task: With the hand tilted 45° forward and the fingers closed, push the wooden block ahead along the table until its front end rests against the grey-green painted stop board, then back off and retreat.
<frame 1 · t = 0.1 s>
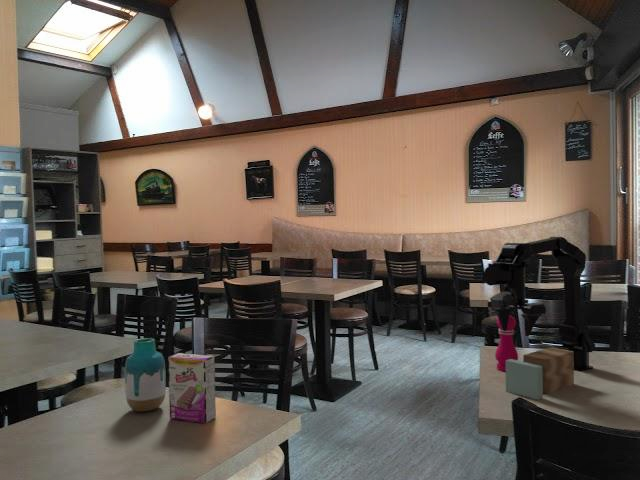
hand: (515, 333, 160), 15 cm above the table, tool pointing down, fingers open, 9 cm apart
wooden block: (549, 386, 154), on the table
candy bar box: (192, 419, 133), on the table
stop: (523, 394, 147), on the table
vase: (146, 410, 141), on the table
pepper mill: (506, 369, 173), on the table
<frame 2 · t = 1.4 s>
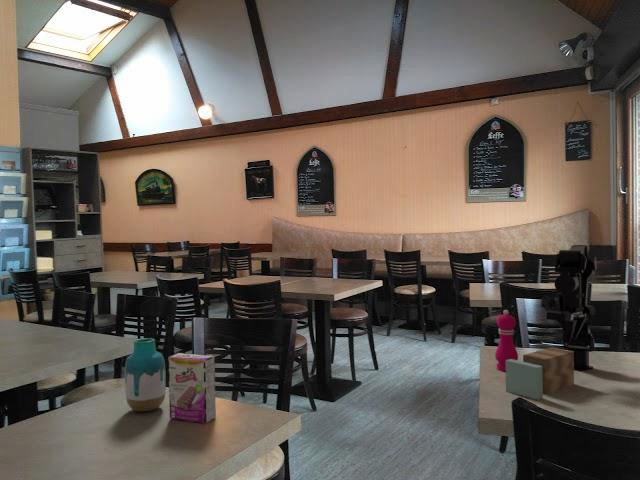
hand: (571, 340, 161), 12 cm above the table, tool pointing down, fingers open, 3 cm apart
nothing on the table moved.
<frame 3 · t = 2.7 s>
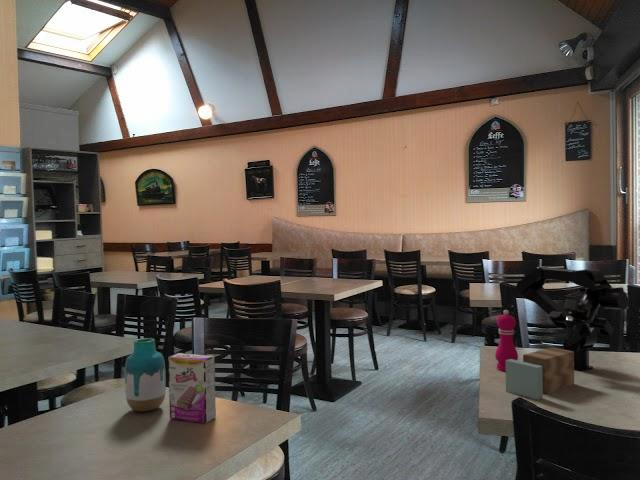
hand: (569, 344, 161), 11 cm above the table, tool tilted 45°, fingers closed
nothing on the table moved.
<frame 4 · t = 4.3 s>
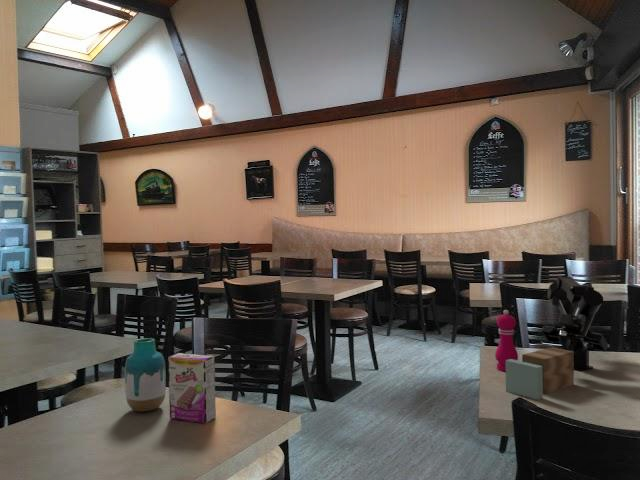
hand: (563, 360, 158), 7 cm above the table, tool tilted 45°, fingers closed, pressing on wooden block
wooden block: (548, 386, 154), on the table, touching gripper
everything else where it was.
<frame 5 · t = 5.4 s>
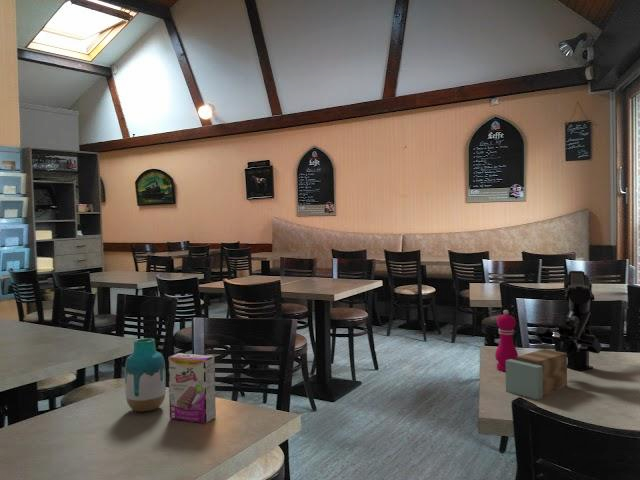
hand: (556, 362, 156), 6 cm above the table, tool tilted 45°, fingers closed
wooden block: (541, 388, 152), on the table
everything else where it was.
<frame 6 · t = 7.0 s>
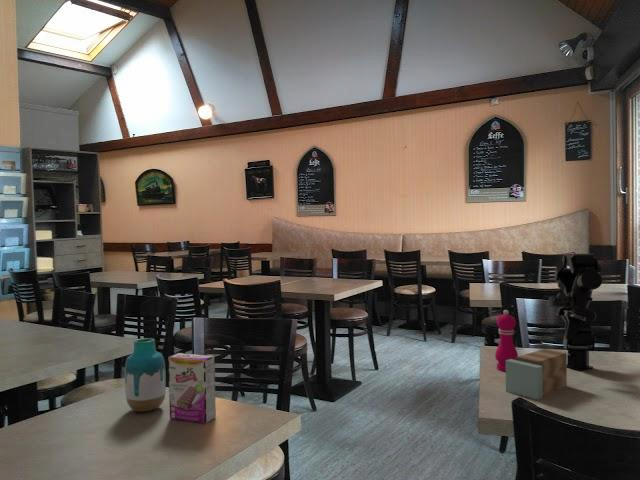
hand: (567, 339, 161), 12 cm above the table, tool tilted 20°, fingers closed
nothing on the table moved.
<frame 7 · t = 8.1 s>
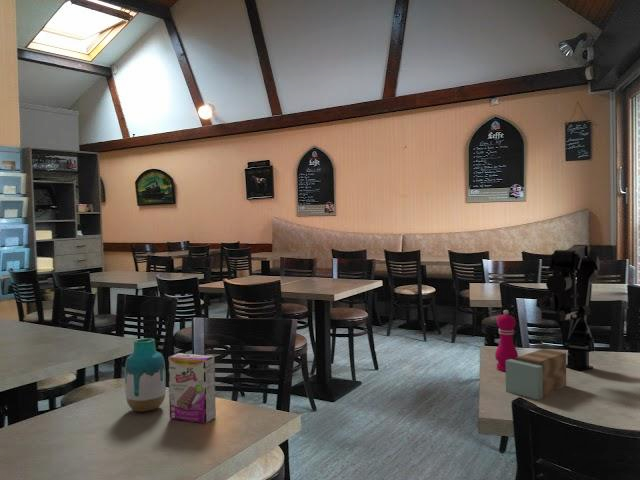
hand: (566, 339, 162), 12 cm above the table, tool pointing down, fingers closed
nothing on the table moved.
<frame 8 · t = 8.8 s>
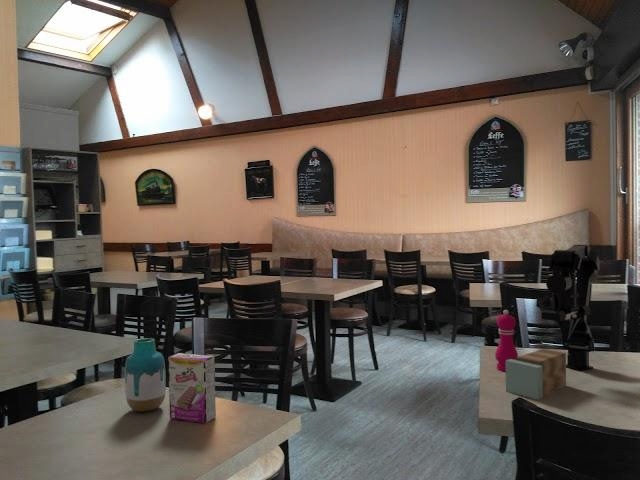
hand: (566, 339, 162), 12 cm above the table, tool pointing down, fingers closed
nothing on the table moved.
at the end: wooden block 1.0 cm from the target spot on the table beside the stop, on the table; wooden block tilted 0°; wooden block moved 3.7 cm from its start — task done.
